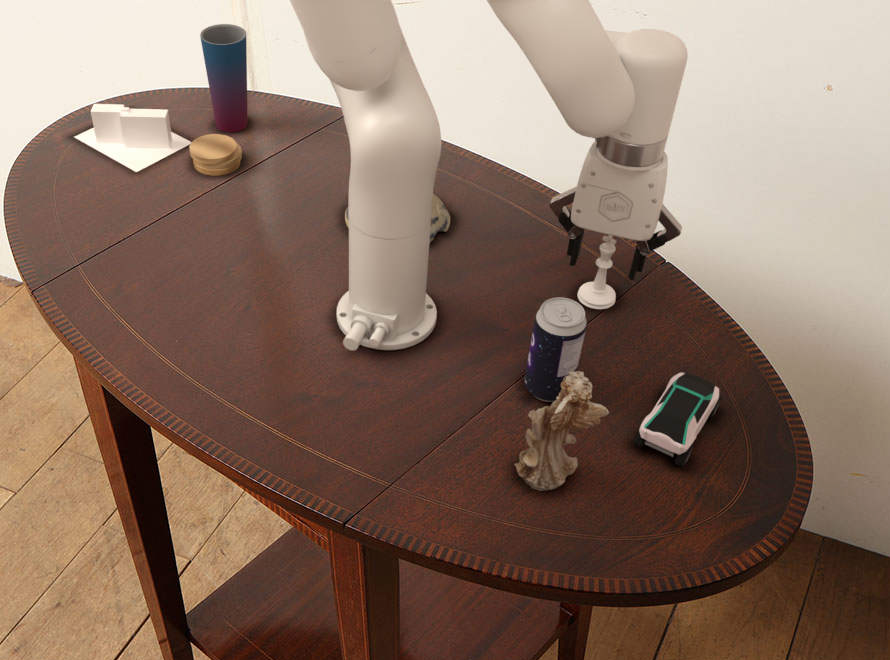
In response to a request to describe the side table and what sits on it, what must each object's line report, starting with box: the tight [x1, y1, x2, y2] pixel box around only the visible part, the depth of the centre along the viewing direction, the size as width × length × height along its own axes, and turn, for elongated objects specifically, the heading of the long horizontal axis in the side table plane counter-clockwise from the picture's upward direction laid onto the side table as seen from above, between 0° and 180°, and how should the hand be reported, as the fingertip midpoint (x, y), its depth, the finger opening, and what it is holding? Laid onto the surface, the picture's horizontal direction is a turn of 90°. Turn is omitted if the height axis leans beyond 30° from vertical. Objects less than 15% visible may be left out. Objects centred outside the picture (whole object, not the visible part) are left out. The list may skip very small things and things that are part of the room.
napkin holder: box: [74, 103, 192, 173], centre depth 151 cm, size 15×11×6 cm
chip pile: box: [188, 133, 243, 177], centre depth 148 cm, size 8×8×3 cm
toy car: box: [633, 372, 723, 467], centre depth 110 cm, size 6×12×5 cm, turn 147°
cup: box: [199, 23, 249, 134], centre depth 152 cm, size 7×7×15 cm
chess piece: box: [577, 234, 617, 310], centre depth 125 cm, size 5×5×10 cm
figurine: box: [513, 370, 610, 492], centre depth 101 cm, size 7×6×15 cm
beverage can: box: [523, 296, 588, 403], centre depth 112 cm, size 6×6×12 cm
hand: (603, 265), depth 125 cm, fingers open, 6 cm apart
